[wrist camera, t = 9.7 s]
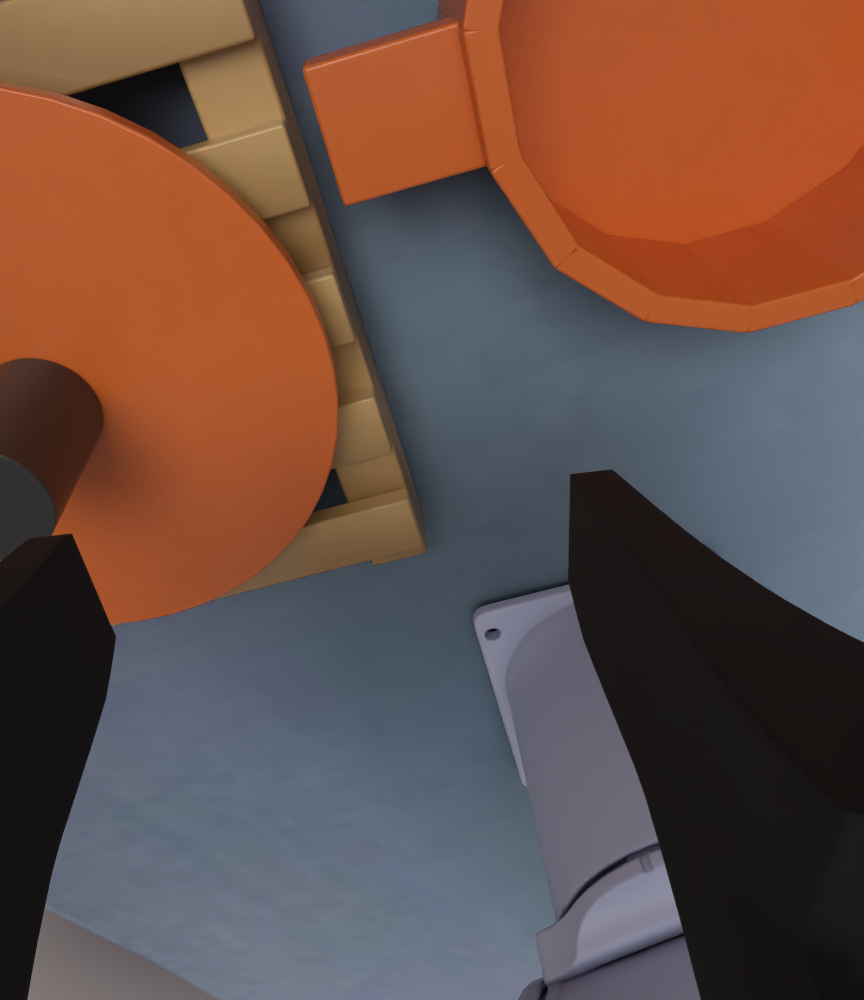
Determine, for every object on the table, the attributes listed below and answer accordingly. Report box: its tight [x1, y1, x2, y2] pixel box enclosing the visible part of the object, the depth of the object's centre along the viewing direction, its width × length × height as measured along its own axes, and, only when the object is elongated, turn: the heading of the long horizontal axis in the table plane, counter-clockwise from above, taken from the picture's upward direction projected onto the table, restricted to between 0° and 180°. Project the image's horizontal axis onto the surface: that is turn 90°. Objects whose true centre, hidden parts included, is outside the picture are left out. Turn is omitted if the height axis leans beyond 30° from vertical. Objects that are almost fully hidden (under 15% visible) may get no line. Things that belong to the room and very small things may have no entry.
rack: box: [0, 0, 427, 626], centre depth 19 cm, size 15×13×3 cm
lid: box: [0, 82, 339, 624], centre depth 16 cm, size 12×12×5 cm
